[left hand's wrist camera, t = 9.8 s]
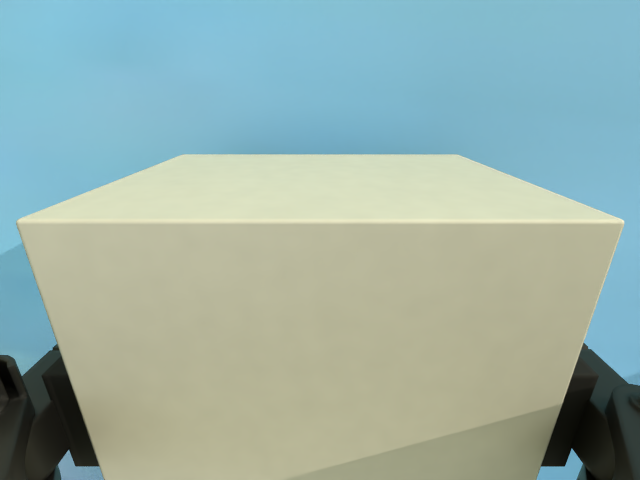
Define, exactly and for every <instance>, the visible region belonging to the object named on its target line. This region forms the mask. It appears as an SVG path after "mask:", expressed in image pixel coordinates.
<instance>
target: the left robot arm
mask: <svg viewBox="0 0 640 480" xmlns="http://www.w3.org/2000/svg"><path fill="white" fill-rule="evenodd" d="M571 449H573V450H574V451H575V453H576V454H577V456H578V457H579V458H580V460H581V461H582V462H583V465H582V467H581V470H580V472H579V475H578V477H577V480H640V386H638V385H633V384H628V383H627V382H626V381H625V380H624V379H623V378H622V377H620V376H619V375H618V374H617V373H616V372H615V371H614V370H613V369H612V368H611V367H610V366H608V365H607V364H606V363H605V362H604V361H603V360H602V359H601V358H600V357H599V356H598V355H597V354H595V353H594V352H593V351H592V350H591V349H588V346H587V345H586V344H585V343H583V345H582V348H581V351H580V354H579V357H578V360H577V363H576V365H575V368H574V371H573V374H572V377H571V380H570V383H569V386H568V389H567V392H566V394H565V397H564V400H563V403H562V406H561V409H560V412H559V415H558V418H557V421H556V424H555V426H554V429H553V432H552V435H551V438H550V441H549V444H548V447H547V450H546V453H545V455H544V458H543V461H542V464H541V466H565V464H566V462H567V459H568V456H569V454H570V451H571ZM68 450H70V453H71V456H72V458H73V461H74V464H75V466H99V463H98V461H97V458H96V455H95V452H94V449H93V446H92V443H91V440H90V437H89V434H88V431H87V429H86V426H85V423H84V420H83V417H82V414H81V411H80V408H79V405H78V402H77V399H76V396H75V394H74V391H73V388H72V385H71V382H70V379H69V376H68V373H67V370H66V367H65V364H64V362H63V359H62V356H61V353H60V350H59V347H58V344H56V345H55V346H54V347H53V350H52V351H49V352H48V353H47V354H46V355H45V356H43V357H42V358H41V359H40V360H39V361H38V362H37V363H36V364H35V365H34V366H33V367H32V368H30V369H29V370H28V371H27V372H26V373H25V374H24V375H23V376H21V374H20V371H19V369H18V366H17V364H16V361H15V359H14V358H12V357H10V356H8V355H0V480H61V475H60V470H59V467H58V463H59V462H60V461H61V459H62V458H63V456H64V455H65V454H66V452H67V451H68Z"/></svg>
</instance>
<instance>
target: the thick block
mask: <svg viewBox="0 0 640 480" xmlns="http://www.w3.org/2000/svg"><path fill="white" fill-rule="evenodd" d="M16 225H17V228H18V231H19V234H20V236H21V239H22V242H23V245H24V248H25V251H26V254H27V257H28V260H29V263H30V266H31V268H32V271H33V274H34V277H35V280H36V283H37V286H38V289H39V292H40V295H41V298H42V300H43V303H44V306H45V309H46V312H47V315H48V318H49V321H50V324H51V327H52V330H53V332H54V335H55V338H56V341H57V344H58V347H59V350H60V353H61V356H62V359H63V362H64V364H65V367H66V370H67V373H68V376H69V379H70V382H71V385H72V388H73V391H74V394H75V396H76V399H77V402H78V405H79V408H80V411H81V414H82V417H83V420H84V423H85V426H86V429H87V431H88V434H89V437H90V440H91V443H92V446H93V449H94V452H95V455H96V458H97V461H98V463H99V466H100V469H101V472H102V475H103V478H104V480H536V479H537V476H538V473H539V470H540V467H541V464H542V461H543V458H544V455H545V453H546V450H547V447H548V444H549V441H550V438H551V435H552V432H553V429H554V426H555V424H556V421H557V418H558V415H559V412H560V409H561V406H562V403H563V400H564V397H565V394H566V392H567V389H568V386H569V383H570V380H571V377H572V374H573V371H574V368H575V365H576V363H577V360H578V357H579V354H580V351H581V348H582V345H583V342H584V339H585V336H586V334H587V331H588V328H589V325H590V322H591V319H592V316H593V313H594V310H595V307H596V304H597V302H598V299H599V296H600V293H601V290H602V287H603V284H604V281H605V278H606V275H607V273H608V270H609V267H610V264H611V261H612V258H613V255H614V252H615V249H616V246H617V244H618V241H619V238H620V235H621V232H622V229H623V226H624V221H623V220H622V219H620V218H617V217H614V216H612V215H609V214H607V213H604V212H602V211H599V210H597V209H594V208H592V207H589V206H587V205H584V204H582V203H579V202H576V201H574V200H571V199H569V198H566V197H564V196H561V195H559V194H556V193H554V192H551V191H549V190H546V189H544V188H541V187H539V186H536V185H533V184H531V183H528V182H526V181H523V180H521V179H518V178H516V177H513V176H511V175H508V174H506V173H503V172H501V171H498V170H495V169H493V168H490V167H488V166H485V165H483V164H480V163H478V162H475V161H473V160H470V159H468V158H465V157H463V156H460V155H261V154H183V155H180V156H178V157H175V158H173V159H170V160H167V161H165V162H162V163H160V164H157V165H155V166H152V167H150V168H147V169H145V170H142V171H140V172H137V173H134V174H132V175H129V176H127V177H124V178H122V179H119V180H117V181H114V182H112V183H109V184H107V185H104V186H102V187H99V188H96V189H94V190H91V191H89V192H86V193H84V194H81V195H79V196H76V197H74V198H71V199H69V200H66V201H63V202H61V203H58V204H56V205H53V206H51V207H48V208H46V209H43V210H41V211H38V212H36V213H33V214H30V215H28V216H25V217H23V218H20V219H18V220H17V221H16Z"/></svg>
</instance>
